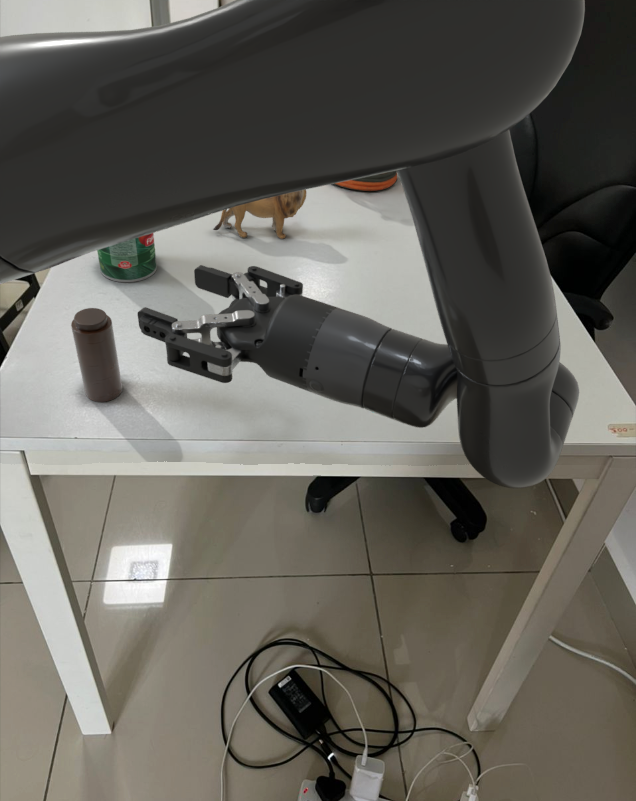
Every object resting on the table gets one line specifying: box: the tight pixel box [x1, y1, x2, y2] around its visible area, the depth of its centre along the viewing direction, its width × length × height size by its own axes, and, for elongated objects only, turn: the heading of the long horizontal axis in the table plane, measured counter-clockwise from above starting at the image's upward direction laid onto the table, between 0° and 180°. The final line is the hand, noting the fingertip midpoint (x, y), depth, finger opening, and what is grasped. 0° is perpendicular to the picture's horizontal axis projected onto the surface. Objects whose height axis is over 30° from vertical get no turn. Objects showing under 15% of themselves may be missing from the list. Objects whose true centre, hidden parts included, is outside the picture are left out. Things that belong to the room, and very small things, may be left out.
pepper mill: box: [70, 307, 123, 403], centre depth 69 cm, size 4×4×10 cm
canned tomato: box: [96, 233, 158, 283], centre depth 88 cm, size 8×8×11 cm
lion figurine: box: [212, 189, 307, 240], centre depth 100 cm, size 15×5×9 cm, turn 103°
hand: (169, 296), depth 59 cm, fingers open, 8 cm apart
